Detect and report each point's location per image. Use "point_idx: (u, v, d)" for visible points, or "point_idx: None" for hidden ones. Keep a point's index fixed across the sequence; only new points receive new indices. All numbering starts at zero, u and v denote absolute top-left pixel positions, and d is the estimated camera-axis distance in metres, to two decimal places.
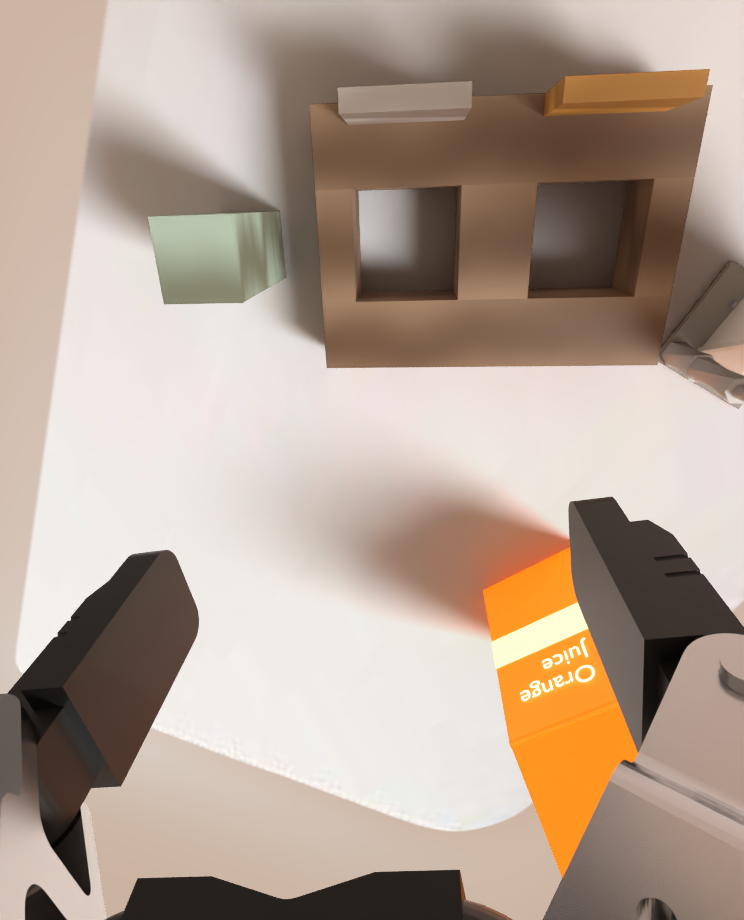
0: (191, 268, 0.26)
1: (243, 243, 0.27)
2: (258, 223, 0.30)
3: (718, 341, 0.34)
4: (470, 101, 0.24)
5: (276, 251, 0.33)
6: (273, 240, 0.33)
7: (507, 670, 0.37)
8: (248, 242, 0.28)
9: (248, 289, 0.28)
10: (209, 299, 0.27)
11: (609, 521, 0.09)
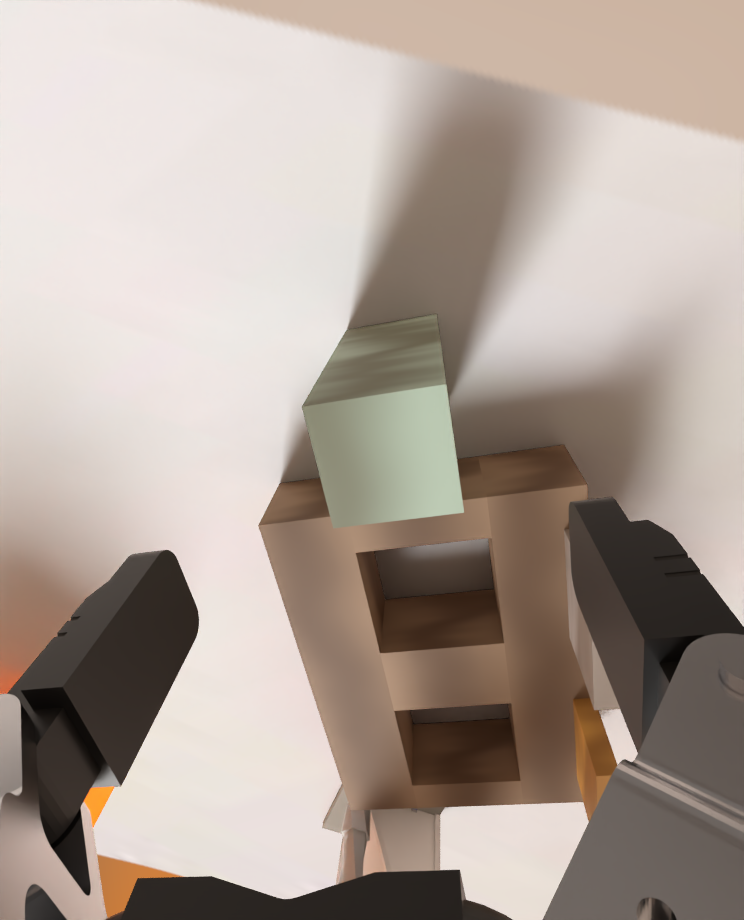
0: (372, 454, 0.15)
1: None
2: None
3: (380, 815, 0.36)
4: (600, 708, 0.22)
5: None
6: None
7: None
8: None
9: None
10: (327, 480, 0.16)
11: (609, 521, 0.09)
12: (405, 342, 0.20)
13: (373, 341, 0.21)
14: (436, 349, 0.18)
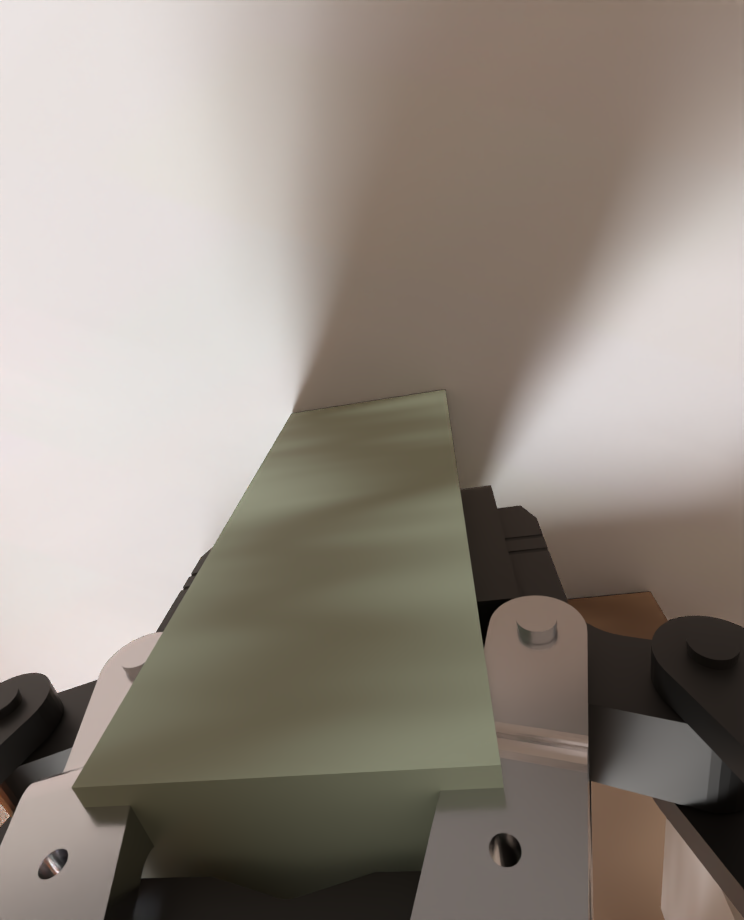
0: (284, 887, 0.06)
1: None
2: None
3: None
4: None
5: None
6: None
7: None
8: None
9: None
10: None
11: (479, 506, 0.10)
12: (387, 476, 0.10)
13: (327, 460, 0.11)
14: (453, 524, 0.08)
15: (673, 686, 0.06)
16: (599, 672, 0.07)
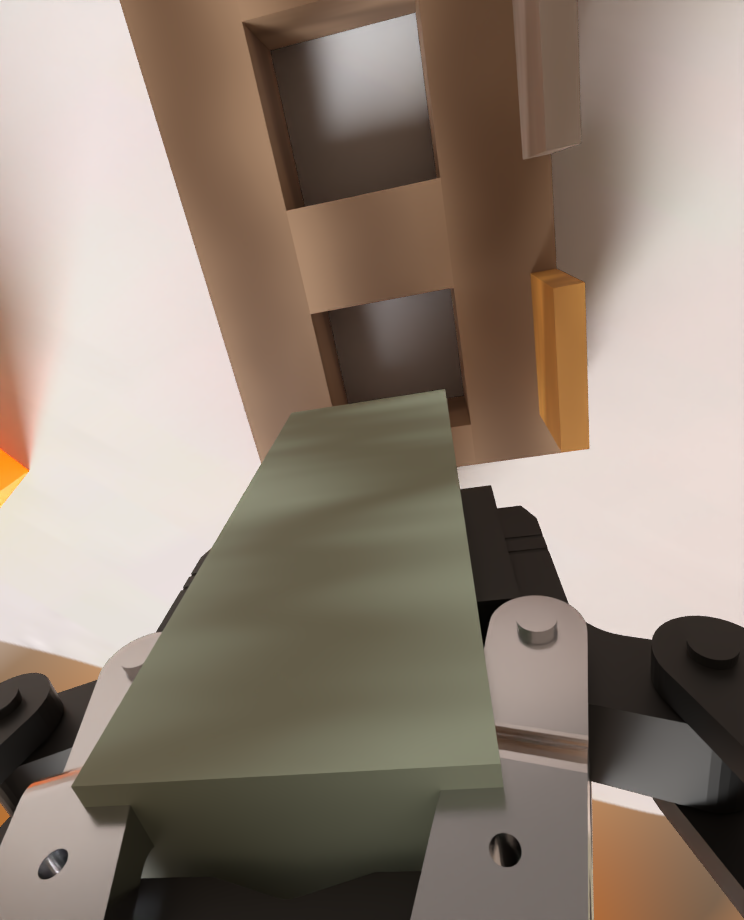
0: (284, 887, 0.06)
1: None
2: None
3: None
4: (554, 147, 0.16)
5: None
6: None
7: None
8: None
9: None
10: None
11: (480, 506, 0.10)
12: (387, 475, 0.10)
13: (327, 460, 0.11)
14: (453, 523, 0.08)
15: (673, 686, 0.06)
16: (599, 672, 0.07)
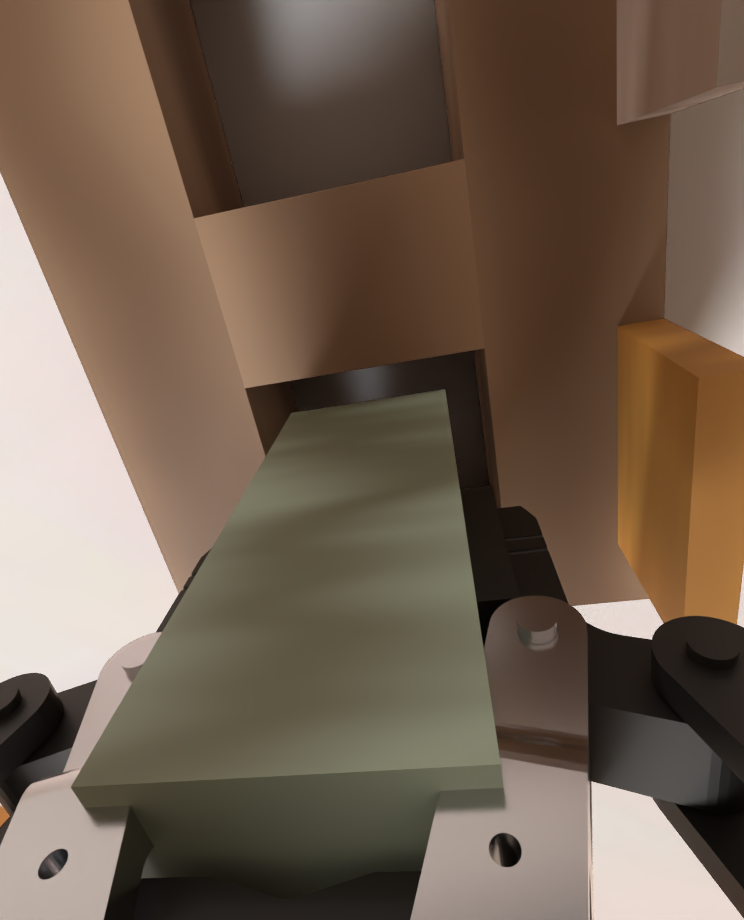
0: (284, 887, 0.06)
1: None
2: None
3: None
4: (736, 78, 0.07)
5: None
6: None
7: None
8: None
9: None
10: None
11: (479, 506, 0.10)
12: (387, 475, 0.10)
13: (327, 460, 0.11)
14: (453, 523, 0.08)
15: (673, 687, 0.06)
16: (599, 672, 0.07)
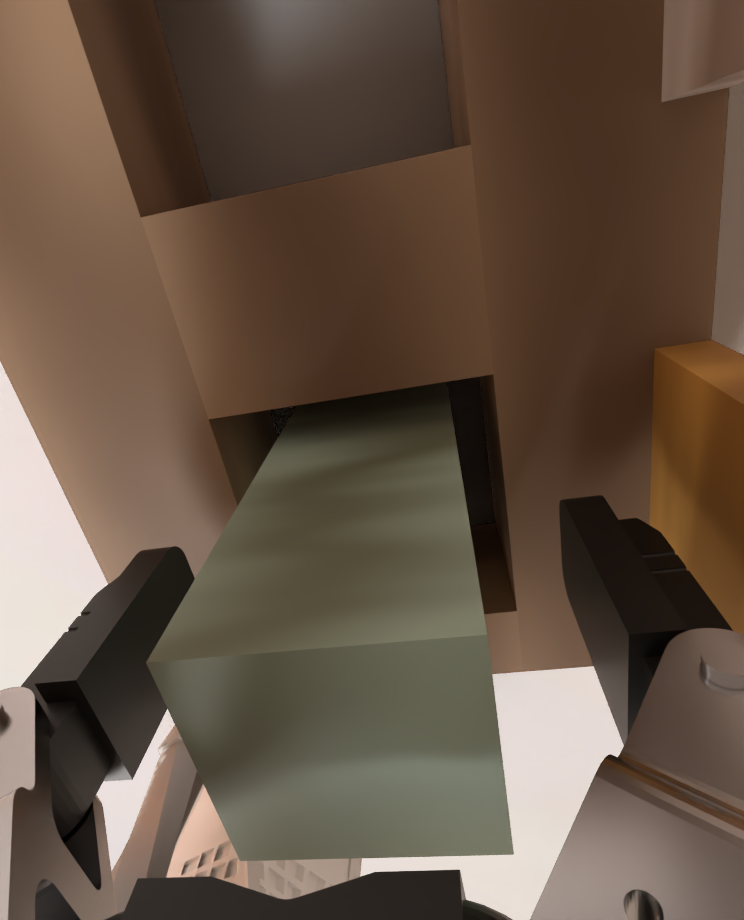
0: (313, 753, 0.07)
1: None
2: None
3: None
4: None
5: None
6: None
7: None
8: None
9: None
10: (219, 789, 0.07)
11: (598, 519, 0.09)
12: (393, 441, 0.11)
13: (339, 430, 0.12)
14: (452, 475, 0.09)
15: None
16: None
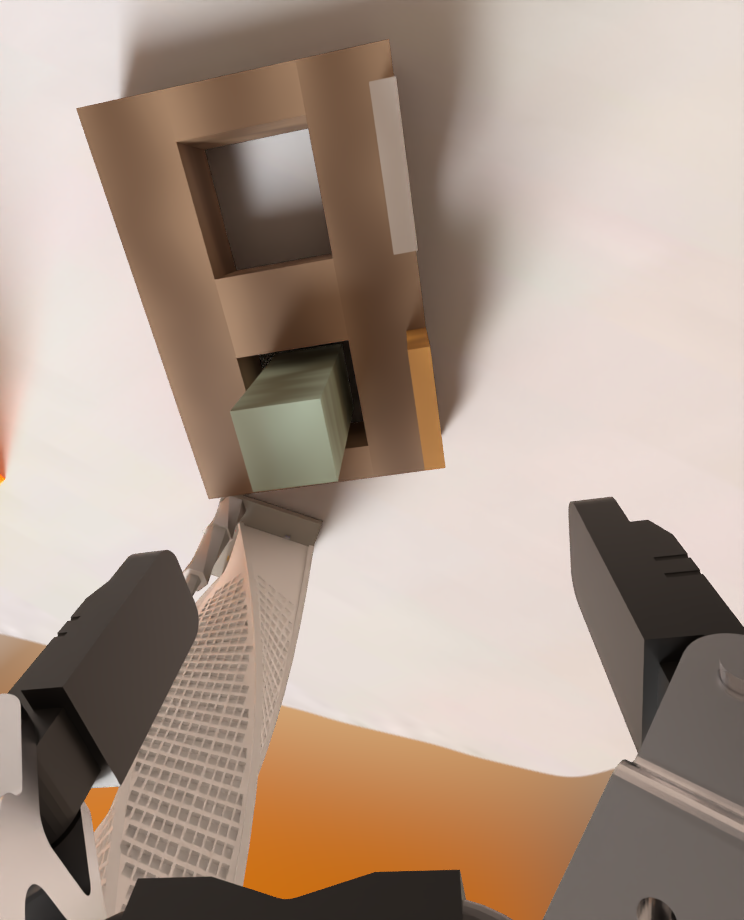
0: (276, 442, 0.24)
1: None
2: None
3: (251, 537, 0.36)
4: (399, 252, 0.22)
5: None
6: None
7: None
8: None
9: None
10: (247, 459, 0.24)
11: (609, 521, 0.09)
12: (310, 366, 0.28)
13: (290, 364, 0.29)
14: (327, 373, 0.26)
15: None
16: None
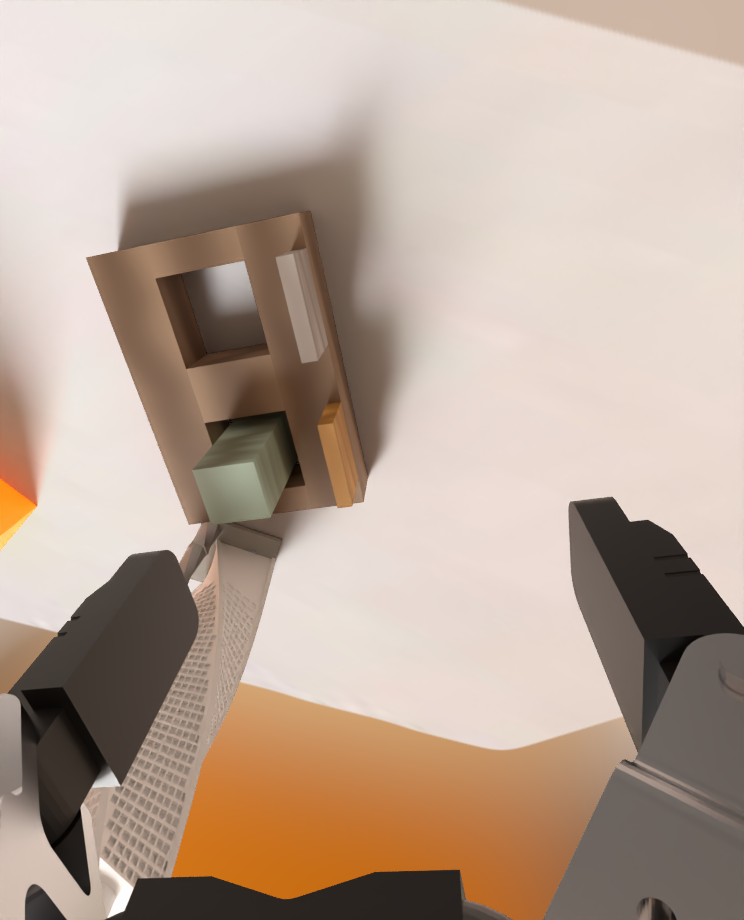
0: (225, 491, 0.34)
1: None
2: None
3: (225, 552, 0.46)
4: (305, 361, 0.32)
5: None
6: None
7: None
8: None
9: None
10: (206, 502, 0.34)
11: (609, 521, 0.09)
12: (258, 429, 0.38)
13: (245, 426, 0.39)
14: (266, 437, 0.36)
15: None
16: None
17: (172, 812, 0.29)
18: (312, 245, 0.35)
